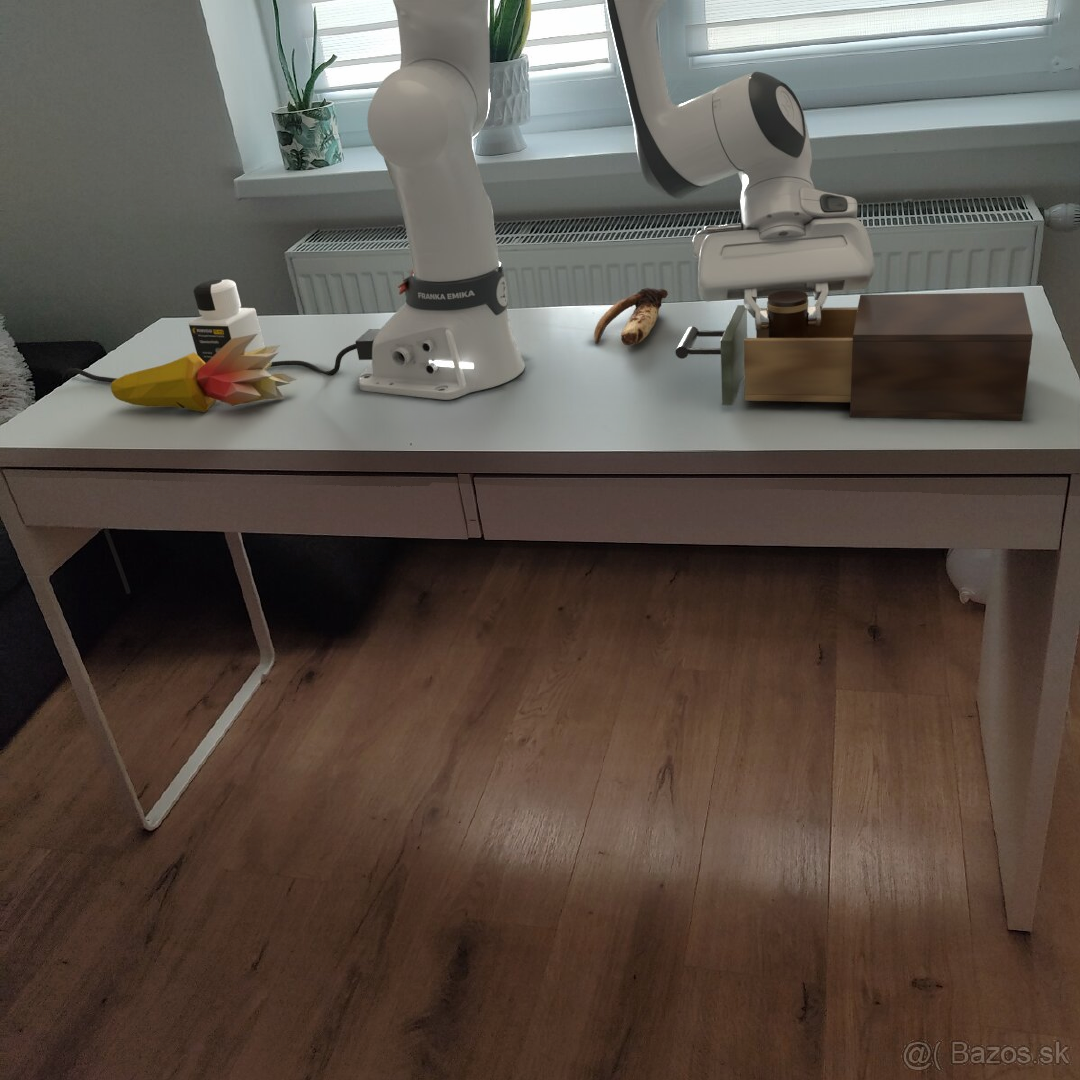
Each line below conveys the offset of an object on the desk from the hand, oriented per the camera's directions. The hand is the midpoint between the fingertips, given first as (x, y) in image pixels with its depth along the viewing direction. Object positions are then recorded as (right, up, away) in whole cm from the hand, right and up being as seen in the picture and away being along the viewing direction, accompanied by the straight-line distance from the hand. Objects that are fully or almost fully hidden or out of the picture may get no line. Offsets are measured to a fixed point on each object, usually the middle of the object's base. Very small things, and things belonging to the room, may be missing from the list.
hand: (788, 326), depth 123 cm
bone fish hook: (-16, +4, +28) cm, 32 cm away
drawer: (-1, -6, +3) cm, 7 cm away
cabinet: (+16, -8, -2) cm, 18 cm away
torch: (-74, -7, +21) cm, 77 cm away
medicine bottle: (-75, +2, +36) cm, 83 cm away
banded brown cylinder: (0, -4, +3) cm, 4 cm away
